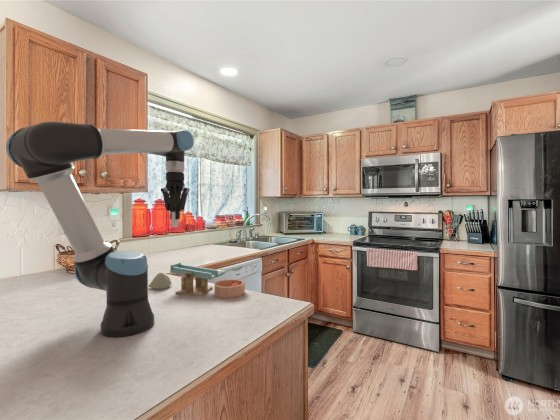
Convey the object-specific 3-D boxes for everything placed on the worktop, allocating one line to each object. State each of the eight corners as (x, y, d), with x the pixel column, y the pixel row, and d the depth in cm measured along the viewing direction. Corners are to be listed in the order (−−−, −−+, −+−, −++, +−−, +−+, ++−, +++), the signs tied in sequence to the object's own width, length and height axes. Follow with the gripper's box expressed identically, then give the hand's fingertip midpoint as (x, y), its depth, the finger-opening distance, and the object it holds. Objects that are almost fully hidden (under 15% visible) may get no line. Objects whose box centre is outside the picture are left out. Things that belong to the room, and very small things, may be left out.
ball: (232, 295, 123) (239, 291, 123) (227, 287, 124) (234, 282, 123) (236, 292, 127) (243, 288, 126) (231, 284, 128) (238, 280, 127)
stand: (200, 295, 123) (199, 274, 123) (175, 293, 126) (175, 272, 126) (212, 288, 134) (212, 268, 134) (189, 286, 137) (189, 267, 137)
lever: (211, 280, 124) (212, 272, 124) (170, 272, 129) (170, 265, 129) (225, 272, 138) (226, 265, 137) (187, 266, 143) (188, 259, 143)
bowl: (237, 299, 118) (237, 288, 118) (209, 297, 121) (209, 286, 121) (248, 290, 130) (248, 280, 130) (222, 288, 134) (222, 278, 134)
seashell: (175, 282, 136) (160, 276, 132) (164, 296, 137) (148, 291, 132) (172, 273, 143) (157, 267, 138) (162, 286, 143) (147, 281, 138)
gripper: (193, 172, 127) (193, 226, 127) (167, 173, 131) (167, 226, 131) (183, 170, 120) (183, 227, 120) (156, 171, 124) (156, 227, 123)
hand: (175, 226), depth 125 cm, fingers closed
